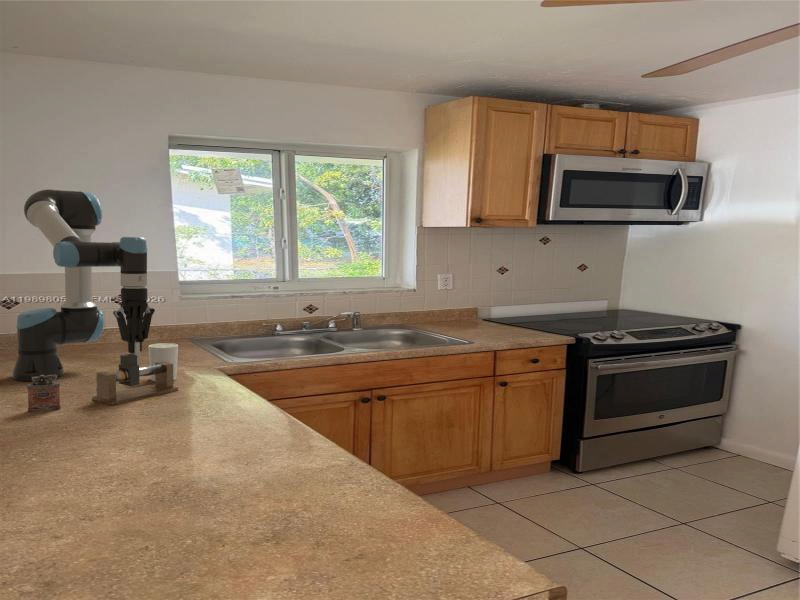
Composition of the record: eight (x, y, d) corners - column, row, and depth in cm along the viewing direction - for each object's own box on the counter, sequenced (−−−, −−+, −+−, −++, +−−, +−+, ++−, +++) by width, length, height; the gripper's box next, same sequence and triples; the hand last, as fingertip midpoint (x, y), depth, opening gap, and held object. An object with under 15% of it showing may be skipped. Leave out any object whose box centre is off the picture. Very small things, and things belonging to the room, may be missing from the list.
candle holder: (168, 383, 206) (168, 348, 205) (142, 381, 208) (142, 346, 207) (184, 377, 215) (183, 343, 214) (159, 375, 217) (158, 342, 216)
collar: (118, 383, 187) (118, 354, 187) (127, 381, 190) (127, 353, 189) (130, 386, 184) (130, 357, 183) (139, 384, 187) (139, 355, 186)
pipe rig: (92, 400, 183) (91, 371, 182) (158, 385, 202) (158, 360, 201) (111, 405, 177) (111, 376, 176) (178, 390, 197) (177, 364, 196)
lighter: (27, 413, 168) (26, 377, 167) (28, 410, 171) (27, 375, 170) (60, 410, 171) (59, 375, 170) (60, 407, 174) (60, 372, 173)
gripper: (122, 289, 179) (123, 367, 181) (160, 286, 190) (161, 361, 192) (107, 287, 183) (108, 364, 185) (145, 285, 194) (146, 358, 196)
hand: (135, 362), depth 188 cm, fingers closed
